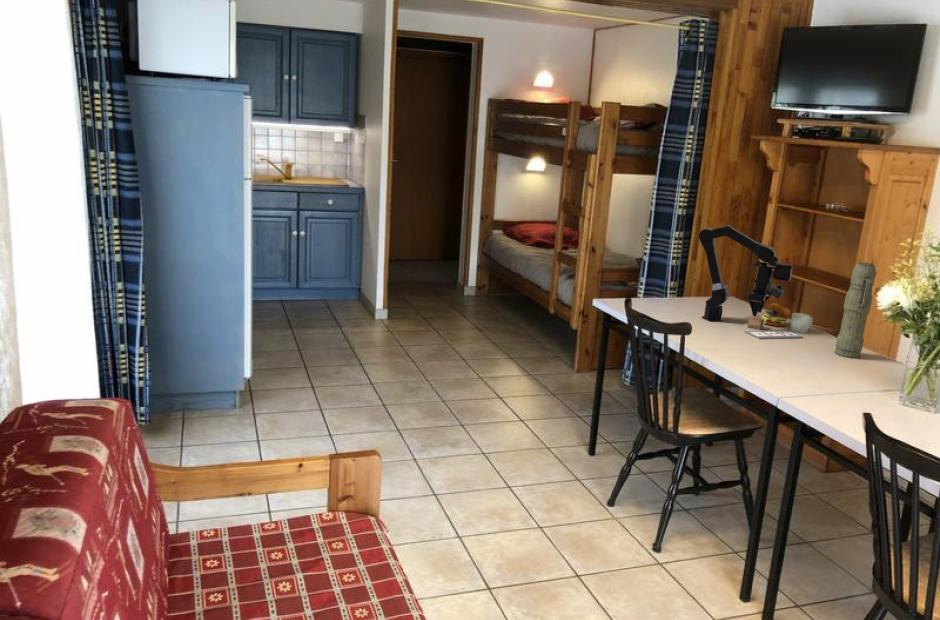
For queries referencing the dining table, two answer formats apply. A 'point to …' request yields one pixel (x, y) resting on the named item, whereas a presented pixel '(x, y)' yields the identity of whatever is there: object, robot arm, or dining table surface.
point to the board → (773, 334)
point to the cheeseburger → (776, 315)
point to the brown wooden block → (755, 323)
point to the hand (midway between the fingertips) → (757, 314)
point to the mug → (800, 323)
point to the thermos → (856, 311)
